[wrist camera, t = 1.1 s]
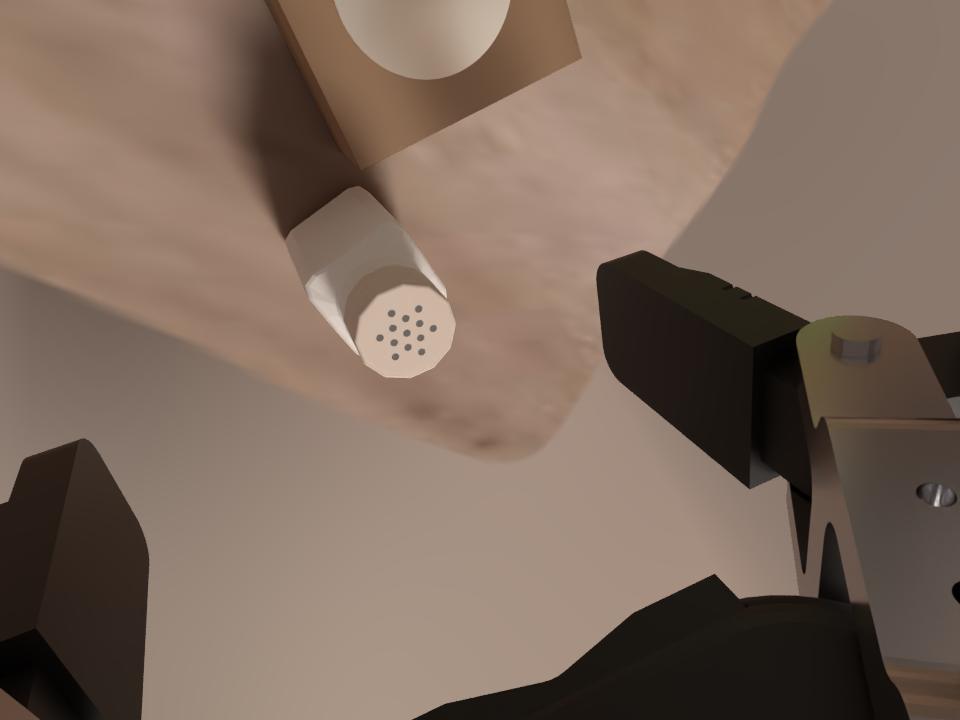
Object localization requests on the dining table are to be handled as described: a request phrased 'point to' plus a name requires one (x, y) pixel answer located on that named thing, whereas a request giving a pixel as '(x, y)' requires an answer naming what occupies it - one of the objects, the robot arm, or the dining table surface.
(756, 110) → the dining table surface
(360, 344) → the salt shaker
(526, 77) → the base
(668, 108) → the dining table surface
